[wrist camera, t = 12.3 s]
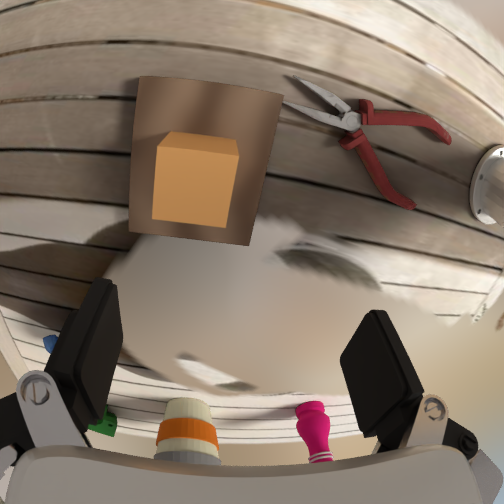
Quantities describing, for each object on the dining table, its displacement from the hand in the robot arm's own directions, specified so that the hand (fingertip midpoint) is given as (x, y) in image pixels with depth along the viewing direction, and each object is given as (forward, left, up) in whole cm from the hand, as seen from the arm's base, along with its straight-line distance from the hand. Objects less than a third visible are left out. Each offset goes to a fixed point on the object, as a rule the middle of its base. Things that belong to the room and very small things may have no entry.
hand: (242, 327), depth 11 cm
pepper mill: (-25, +49, -22) cm, 59 cm away
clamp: (+22, +56, -22) cm, 64 cm away
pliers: (-15, -7, -23) cm, 28 cm away
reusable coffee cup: (+1, +50, -22) cm, 54 cm away
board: (+3, +1, -22) cm, 22 cm away
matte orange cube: (+3, +1, -20) cm, 20 cm away
